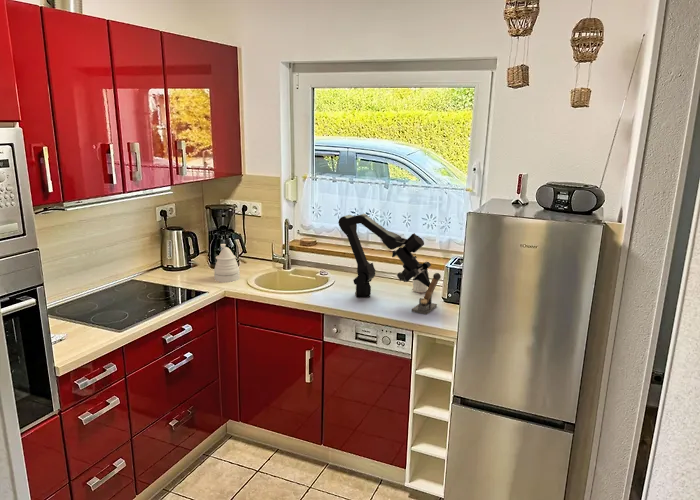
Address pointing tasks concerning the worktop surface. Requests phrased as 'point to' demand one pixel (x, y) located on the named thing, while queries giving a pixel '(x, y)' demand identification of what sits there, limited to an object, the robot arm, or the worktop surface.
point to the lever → (432, 286)
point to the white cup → (419, 286)
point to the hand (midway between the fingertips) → (429, 286)
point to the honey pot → (226, 266)
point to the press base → (424, 306)
